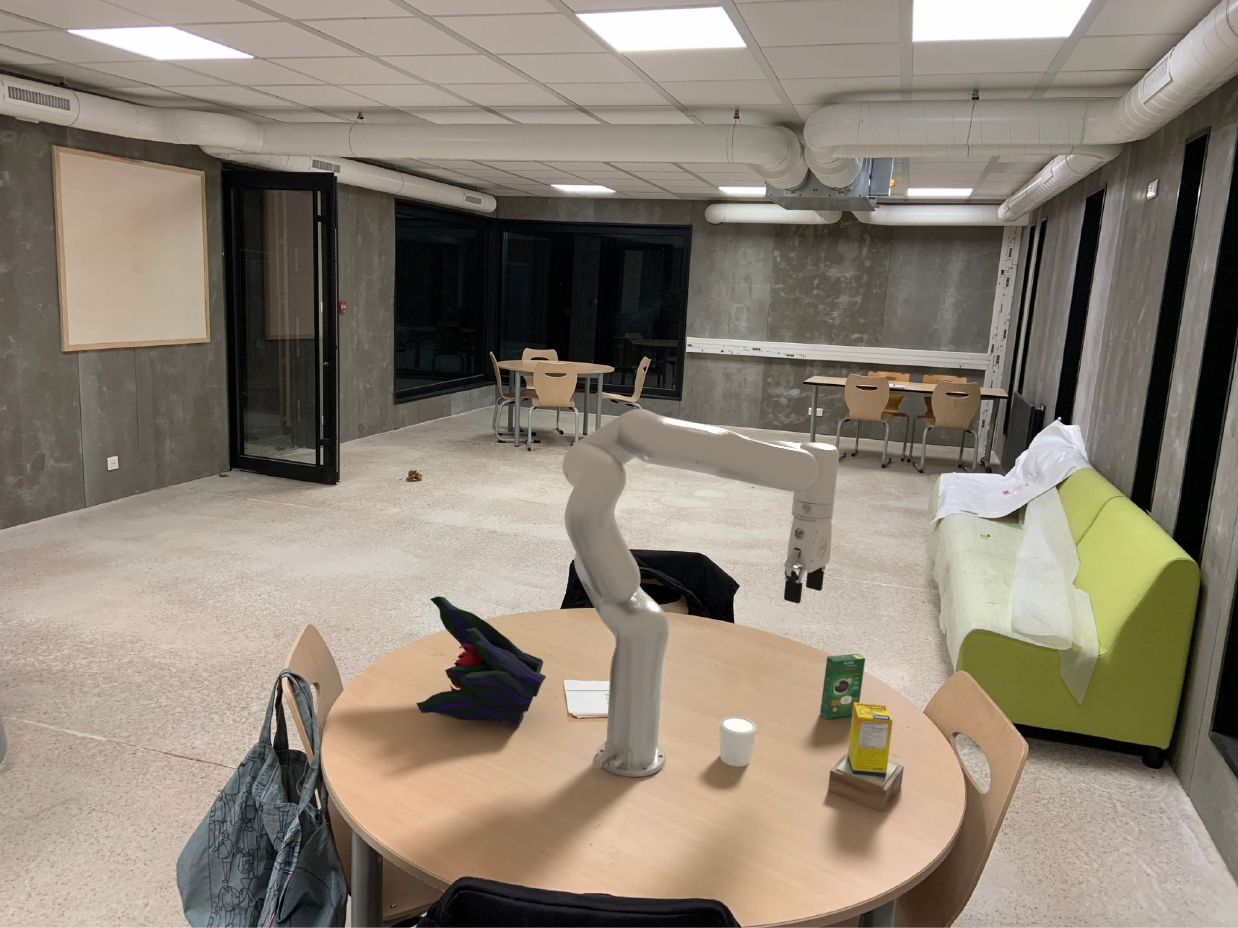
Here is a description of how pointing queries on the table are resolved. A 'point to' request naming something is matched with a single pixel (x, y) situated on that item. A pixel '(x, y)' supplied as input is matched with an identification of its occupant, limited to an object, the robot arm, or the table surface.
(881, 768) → the supplement box
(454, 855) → the table surface
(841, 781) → the brown small box
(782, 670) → the table surface
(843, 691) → the coffee box
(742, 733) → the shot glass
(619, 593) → the robot arm
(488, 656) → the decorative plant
